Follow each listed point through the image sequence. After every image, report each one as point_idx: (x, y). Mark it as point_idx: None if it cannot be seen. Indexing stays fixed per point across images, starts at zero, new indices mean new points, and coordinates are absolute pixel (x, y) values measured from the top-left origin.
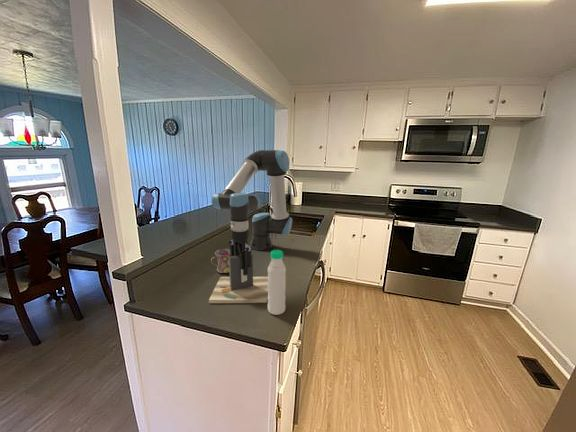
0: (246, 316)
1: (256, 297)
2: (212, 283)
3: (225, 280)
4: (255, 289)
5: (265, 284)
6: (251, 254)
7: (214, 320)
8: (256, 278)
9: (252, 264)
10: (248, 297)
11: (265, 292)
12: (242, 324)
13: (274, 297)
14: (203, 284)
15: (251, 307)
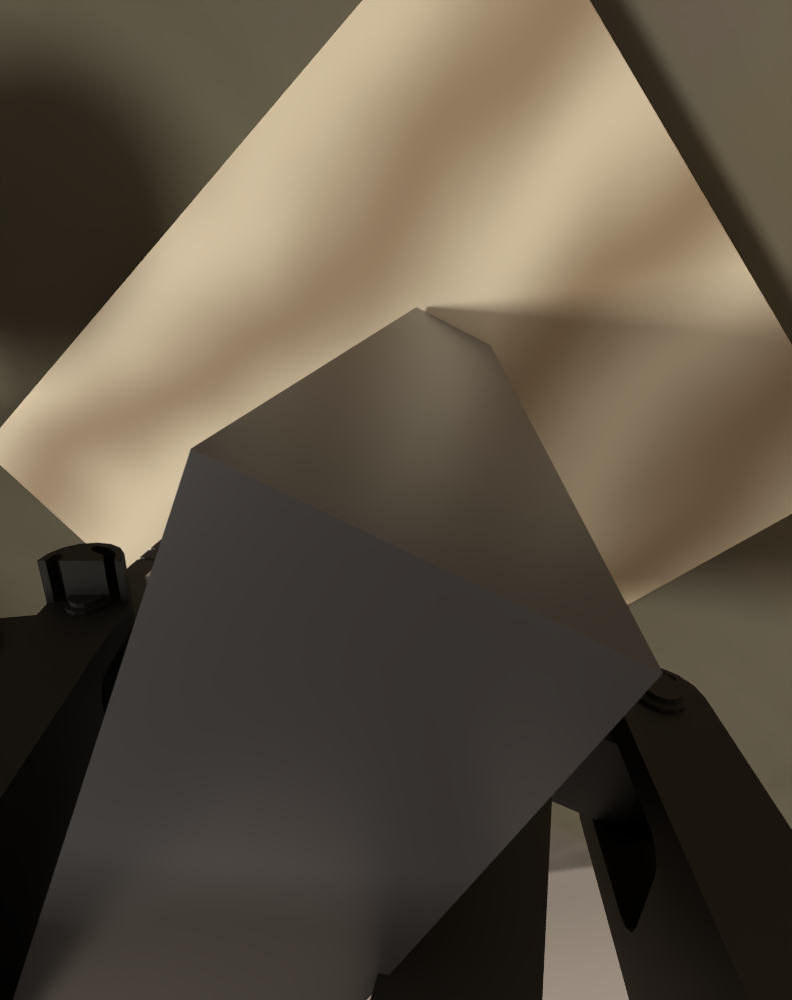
0: (749, 709)
1: (708, 514)
2: (46, 540)
3: (106, 469)
4: (577, 388)
5: (622, 169)
6: (491, 628)
7: (551, 833)
8: (358, 116)
9: (534, 443)
10: (618, 563)
11: (756, 357)
12: (779, 780)
13: None
14: (15, 599)
15: (712, 605)
